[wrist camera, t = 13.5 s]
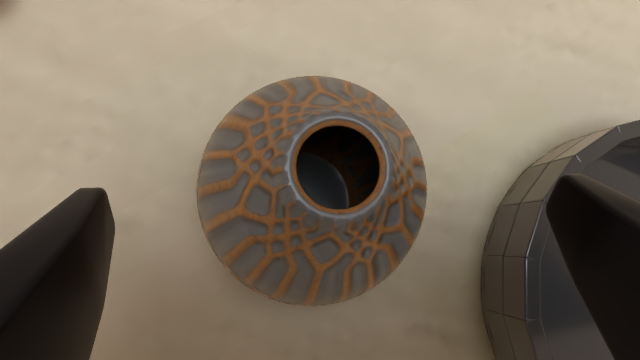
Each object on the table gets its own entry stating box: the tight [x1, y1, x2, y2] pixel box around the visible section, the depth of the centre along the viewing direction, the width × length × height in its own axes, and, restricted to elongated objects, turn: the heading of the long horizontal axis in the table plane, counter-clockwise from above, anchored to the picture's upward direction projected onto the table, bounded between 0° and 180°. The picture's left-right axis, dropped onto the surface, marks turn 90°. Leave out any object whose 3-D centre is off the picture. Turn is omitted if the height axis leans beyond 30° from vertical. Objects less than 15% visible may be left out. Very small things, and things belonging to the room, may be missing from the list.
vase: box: [197, 76, 427, 306], centre depth 14 cm, size 7×7×9 cm
